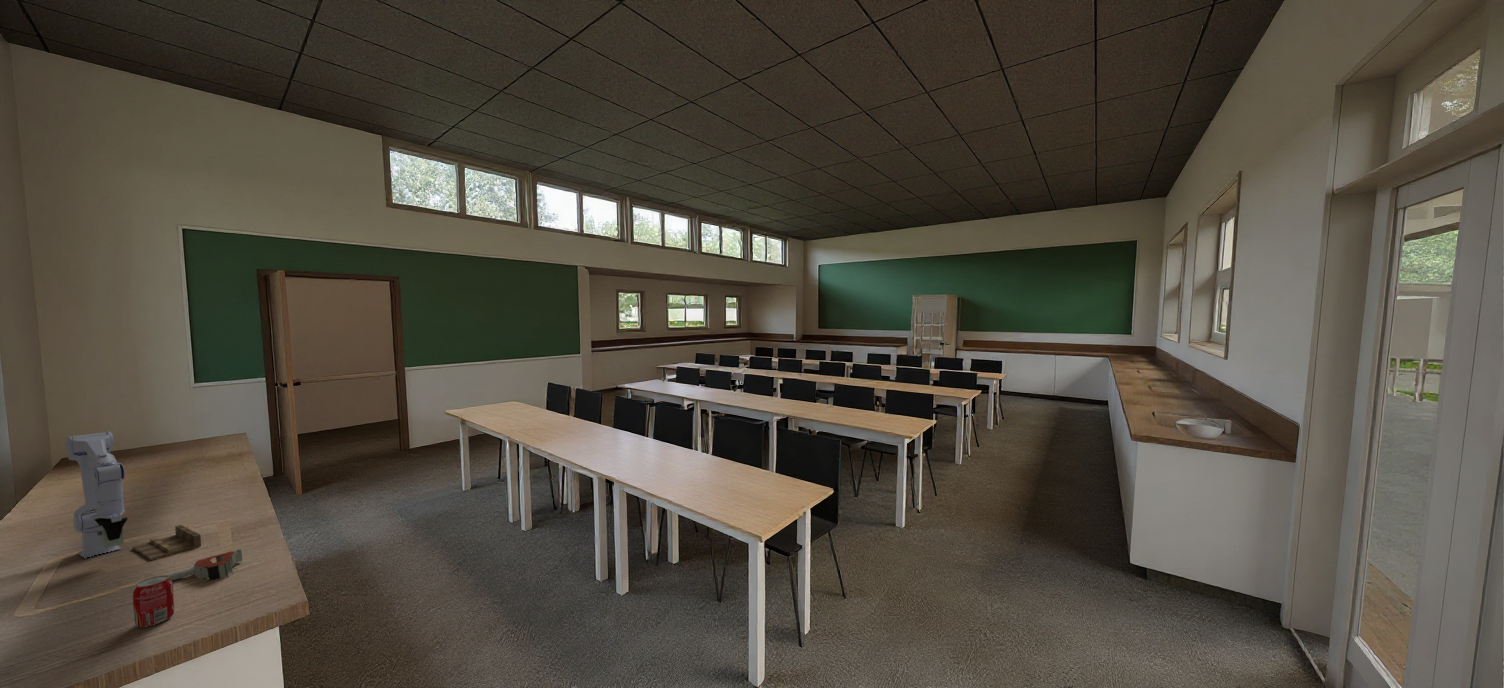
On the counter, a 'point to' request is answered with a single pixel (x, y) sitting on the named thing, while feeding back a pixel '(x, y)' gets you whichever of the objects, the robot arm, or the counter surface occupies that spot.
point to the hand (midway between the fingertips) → (112, 537)
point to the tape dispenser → (211, 567)
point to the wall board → (170, 544)
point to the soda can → (153, 601)
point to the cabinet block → (105, 541)
